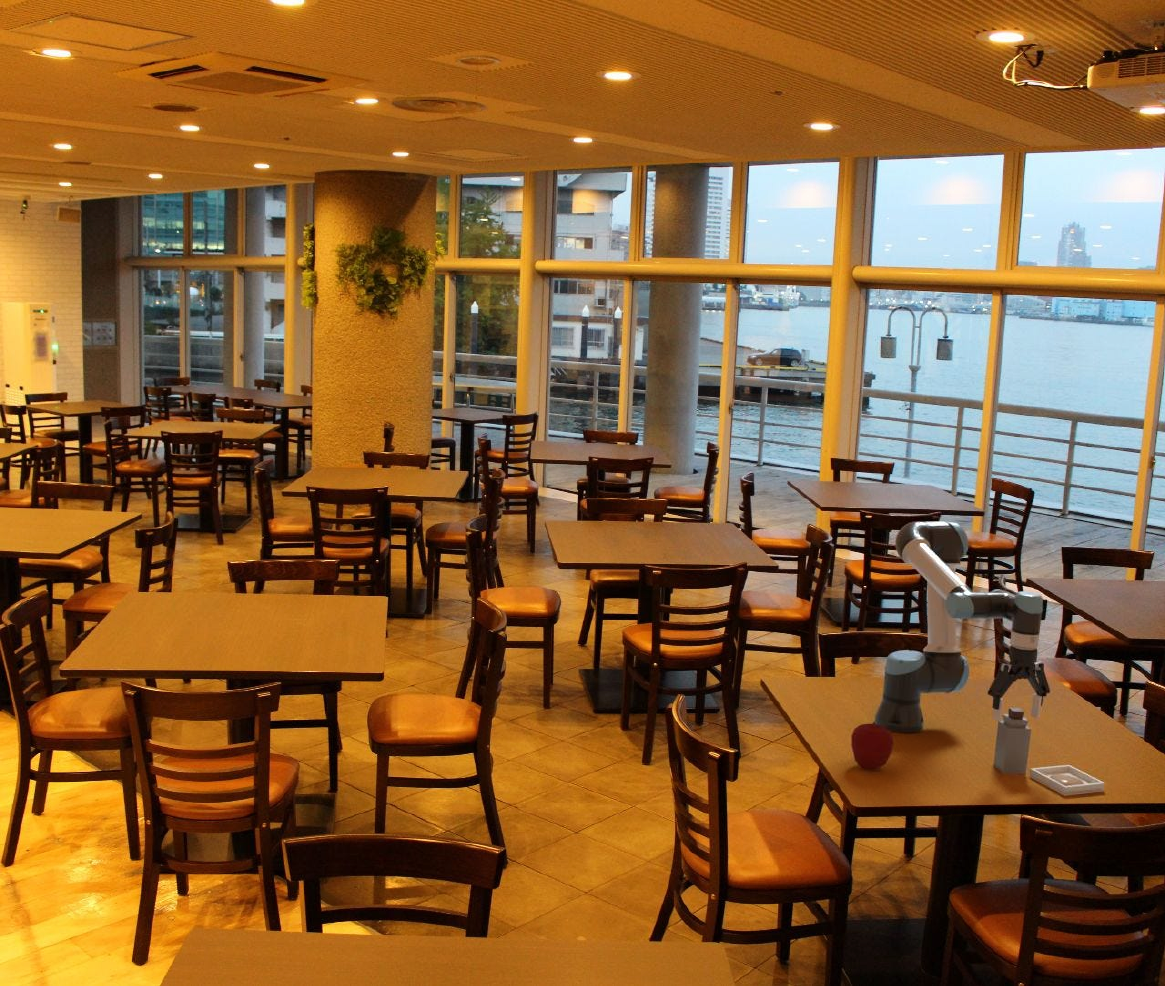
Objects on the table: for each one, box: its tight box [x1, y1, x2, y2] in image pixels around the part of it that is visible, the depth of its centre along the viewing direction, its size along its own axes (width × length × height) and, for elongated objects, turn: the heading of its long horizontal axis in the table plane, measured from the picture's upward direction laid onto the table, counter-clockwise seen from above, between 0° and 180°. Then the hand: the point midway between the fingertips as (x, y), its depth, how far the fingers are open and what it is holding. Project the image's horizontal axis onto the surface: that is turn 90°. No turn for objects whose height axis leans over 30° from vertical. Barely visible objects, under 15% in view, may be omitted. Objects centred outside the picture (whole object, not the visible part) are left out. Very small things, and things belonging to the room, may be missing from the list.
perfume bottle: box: [993, 707, 1032, 775], centre depth 356 cm, size 7×7×18 cm
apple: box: [850, 722, 894, 771], centre depth 351 cm, size 12×12×13 cm
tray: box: [1029, 764, 1106, 796], centre depth 349 cm, size 14×14×2 cm
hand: (1016, 718), depth 355 cm, fingers open, 13 cm apart
